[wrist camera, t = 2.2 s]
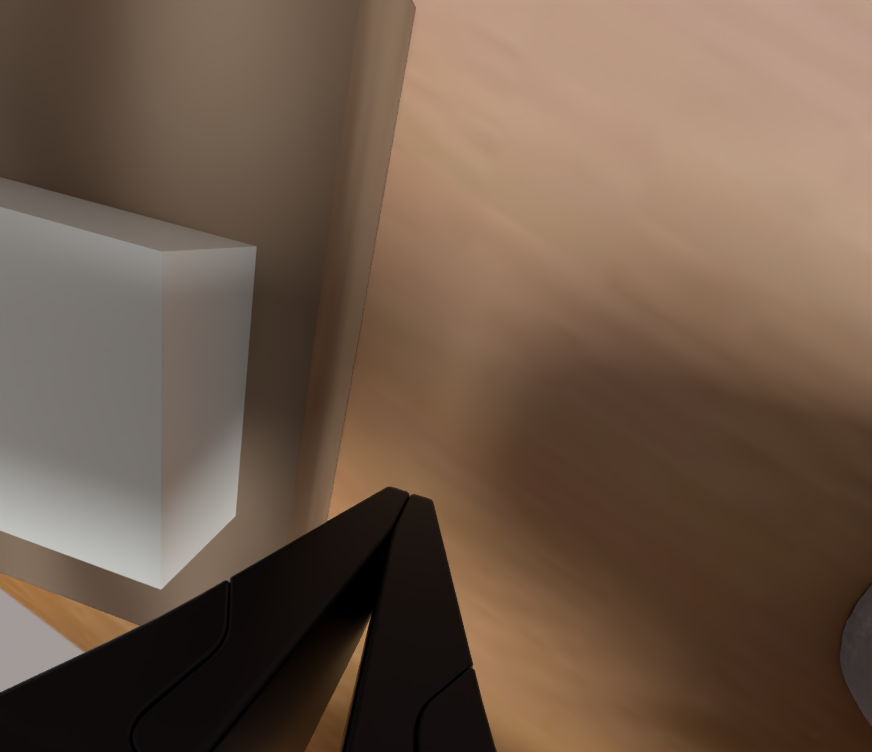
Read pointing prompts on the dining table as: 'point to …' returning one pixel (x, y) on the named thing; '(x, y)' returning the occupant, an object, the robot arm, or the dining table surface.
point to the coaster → (119, 381)
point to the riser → (223, 213)
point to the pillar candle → (859, 654)
